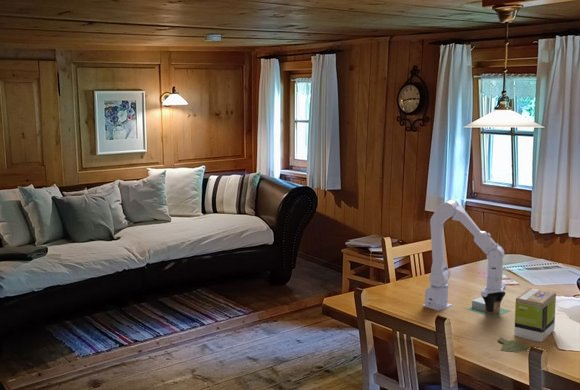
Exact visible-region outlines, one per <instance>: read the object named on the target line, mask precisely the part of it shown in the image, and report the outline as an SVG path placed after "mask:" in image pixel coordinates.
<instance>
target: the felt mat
mask: <svg viewBox="0 0 580 390" xmlns="http://www.w3.org/2000/svg"><path fill="white" fill-rule="evenodd" d="M466 310H468V311H471V312H474V313H477V314H481V315H484V316H488V317H490V318H494V319H495V318H497V317H499V316H502V315H504V314H507V313H509V312H511V310H509V309H506V308H502V307H500V314H498V315H496V316H492V315H489V314H485V311H482V310H479V309H475V308H472V306H470V307H467V308H466Z"/></svg>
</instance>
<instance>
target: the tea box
mask: <svg viewBox="0 0 580 390" xmlns="http://www.w3.org/2000/svg"><path fill="white" fill-rule="evenodd" d="M556 300H557V293H556V292H553V291H547V290H541V289H536V288H531V287H529V288H528V289H527V290H526V291H524V292H523V293H521V294H520V295H519V296H517V297H516V298H515V305H514V306H515V307H514V308H515V310H514V327H513V329H514V330H513V331H514V333H513V335H514V336H517V337H520V338H521V339H525V340H530V341H534V342H538V343H542V342H543V341H544V340H545V339H546V338H547V337H548V336H549V335H550V334H552V333H553V332H554V331H555V327H556V326H555V323H556V320H555V319H556V305H557V304H556V302H557V301H556Z"/></svg>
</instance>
